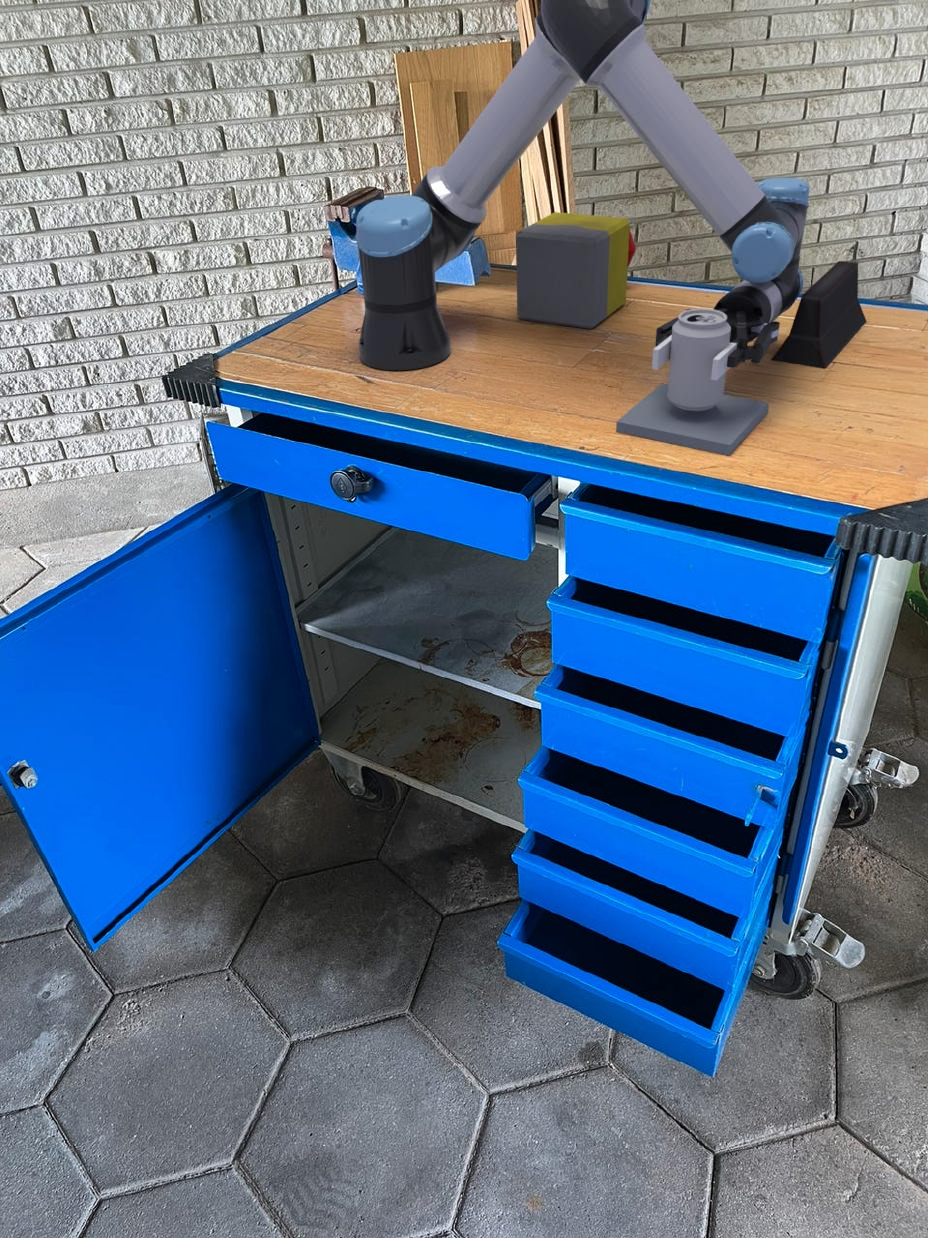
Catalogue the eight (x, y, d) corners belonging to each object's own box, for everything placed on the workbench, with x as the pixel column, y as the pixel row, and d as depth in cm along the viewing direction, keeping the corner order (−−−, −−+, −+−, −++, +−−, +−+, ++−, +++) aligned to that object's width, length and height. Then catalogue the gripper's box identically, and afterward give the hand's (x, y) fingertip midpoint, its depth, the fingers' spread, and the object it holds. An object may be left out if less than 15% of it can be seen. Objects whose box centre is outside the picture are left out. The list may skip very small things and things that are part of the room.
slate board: (616, 431, 131) (616, 421, 131) (660, 392, 141) (661, 382, 141) (728, 455, 124) (730, 444, 123) (767, 412, 134) (769, 402, 133)
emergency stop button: (646, 289, 181) (651, 204, 172) (593, 330, 164) (595, 239, 155) (573, 280, 187) (574, 199, 179) (515, 319, 171) (513, 231, 162)
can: (683, 387, 135) (690, 301, 128) (732, 398, 131) (742, 311, 124) (656, 405, 131) (662, 317, 124) (706, 417, 127) (715, 328, 120)
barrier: (826, 370, 146) (837, 304, 140) (769, 361, 150) (778, 297, 144) (867, 322, 161) (879, 261, 156) (815, 315, 165) (824, 255, 160)
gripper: (813, 347, 136) (758, 406, 121) (678, 326, 146) (611, 379, 131) (821, 293, 132) (766, 348, 117) (682, 276, 141) (614, 324, 126)
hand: (684, 364), depth 124 cm, fingers closed on can, 7 cm apart
